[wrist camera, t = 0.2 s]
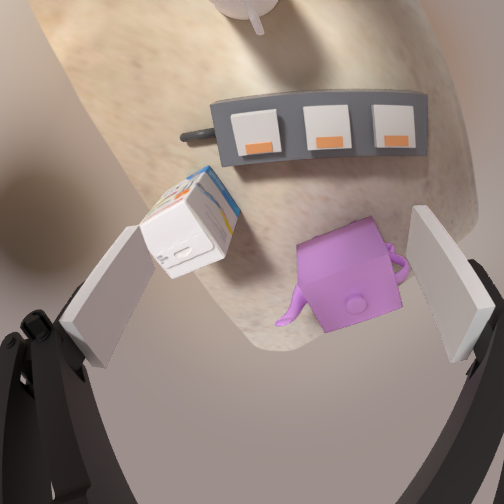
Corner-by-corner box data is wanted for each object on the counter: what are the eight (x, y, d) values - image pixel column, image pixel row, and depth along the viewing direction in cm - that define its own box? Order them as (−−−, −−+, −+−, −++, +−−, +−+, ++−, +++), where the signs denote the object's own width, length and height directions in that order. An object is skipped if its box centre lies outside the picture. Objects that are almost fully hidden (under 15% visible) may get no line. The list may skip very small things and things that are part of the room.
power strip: (176, 109, 36) (165, 114, 33) (414, 91, 31) (427, 94, 28) (188, 164, 41) (180, 174, 37) (415, 148, 35) (426, 157, 32)
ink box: (210, 163, 40) (185, 199, 31) (241, 211, 44) (228, 258, 35) (163, 191, 43) (130, 231, 34) (194, 234, 47) (172, 282, 38)
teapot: (384, 204, 41) (412, 254, 31) (399, 256, 46) (422, 310, 35) (263, 252, 48) (256, 309, 38) (290, 295, 53) (289, 353, 42)
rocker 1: (231, 114, 31) (230, 117, 31) (276, 109, 31) (276, 112, 30) (239, 152, 35) (238, 156, 34) (281, 147, 34) (281, 152, 33)
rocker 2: (302, 107, 31) (303, 106, 30) (346, 105, 30) (347, 104, 29) (307, 149, 33) (308, 150, 32) (350, 147, 32) (352, 148, 31)
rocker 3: (371, 105, 30) (373, 104, 29) (409, 106, 29) (413, 106, 28) (374, 146, 32) (377, 147, 31) (412, 147, 31) (416, 147, 30)
